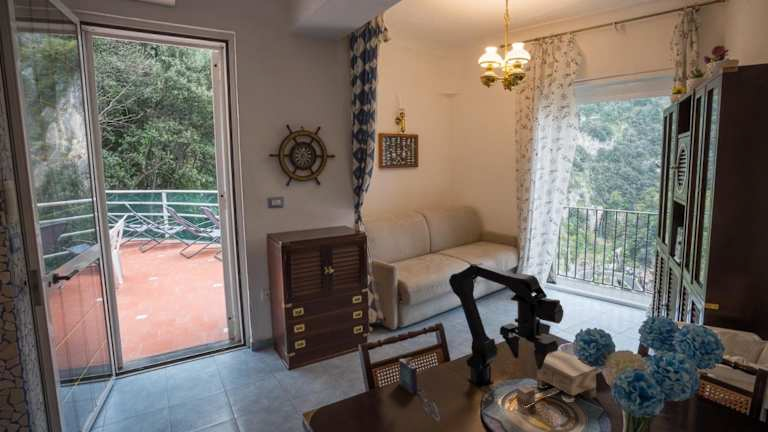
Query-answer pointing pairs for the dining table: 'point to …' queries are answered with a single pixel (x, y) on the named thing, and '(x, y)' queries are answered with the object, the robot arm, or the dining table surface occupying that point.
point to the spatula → (531, 394)
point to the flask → (408, 375)
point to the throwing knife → (428, 407)
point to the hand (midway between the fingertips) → (527, 363)
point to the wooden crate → (567, 374)
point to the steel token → (568, 397)
